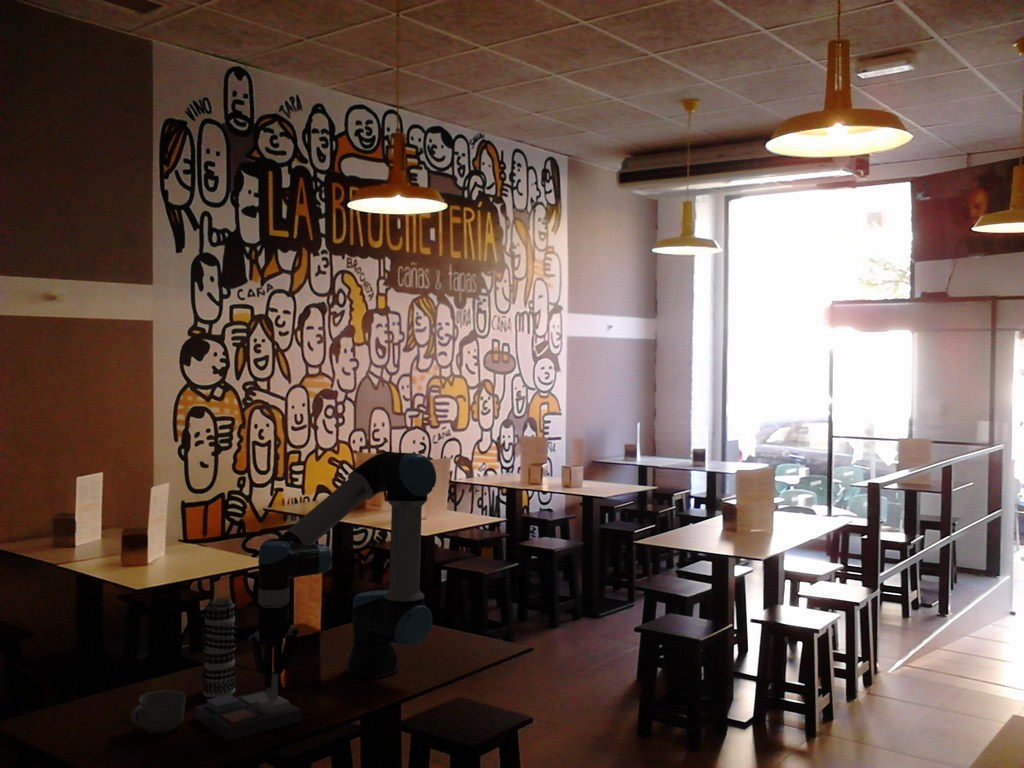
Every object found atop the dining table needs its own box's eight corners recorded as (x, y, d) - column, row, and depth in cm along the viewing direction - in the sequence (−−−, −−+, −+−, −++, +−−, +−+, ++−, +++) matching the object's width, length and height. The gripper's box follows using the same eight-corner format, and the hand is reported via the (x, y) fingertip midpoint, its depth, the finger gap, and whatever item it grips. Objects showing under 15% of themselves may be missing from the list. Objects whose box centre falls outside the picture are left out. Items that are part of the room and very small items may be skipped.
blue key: (229, 706, 226) (229, 694, 226) (239, 712, 221) (239, 700, 221) (206, 711, 222) (206, 699, 222) (216, 718, 217) (216, 706, 217)
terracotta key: (244, 721, 219) (245, 709, 219) (255, 728, 214) (255, 716, 214) (221, 727, 215) (221, 715, 215) (231, 734, 210) (232, 722, 210)
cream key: (278, 707, 225) (278, 695, 225) (289, 713, 220) (289, 701, 220) (256, 712, 221) (256, 700, 221) (267, 719, 216) (267, 707, 216)
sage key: (262, 703, 231) (262, 692, 231) (273, 709, 227) (273, 698, 227) (240, 708, 227) (240, 697, 228) (251, 715, 223) (251, 703, 223)
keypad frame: (266, 701, 234) (266, 690, 234) (300, 721, 220) (300, 709, 220) (195, 718, 222) (195, 706, 222) (227, 741, 207) (227, 728, 207)
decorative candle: (194, 693, 240) (195, 601, 240) (223, 684, 248) (223, 595, 248) (214, 700, 235) (215, 606, 235) (243, 691, 242) (244, 599, 243)
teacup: (171, 718, 222) (171, 686, 222) (194, 728, 215) (194, 695, 215) (116, 734, 211) (117, 700, 211) (139, 746, 204) (139, 711, 205)
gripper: (290, 598, 228) (289, 690, 227) (242, 605, 219) (240, 701, 219) (304, 603, 222) (303, 697, 222) (255, 611, 214) (254, 709, 213)
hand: (272, 699), depth 220 cm, fingers closed
